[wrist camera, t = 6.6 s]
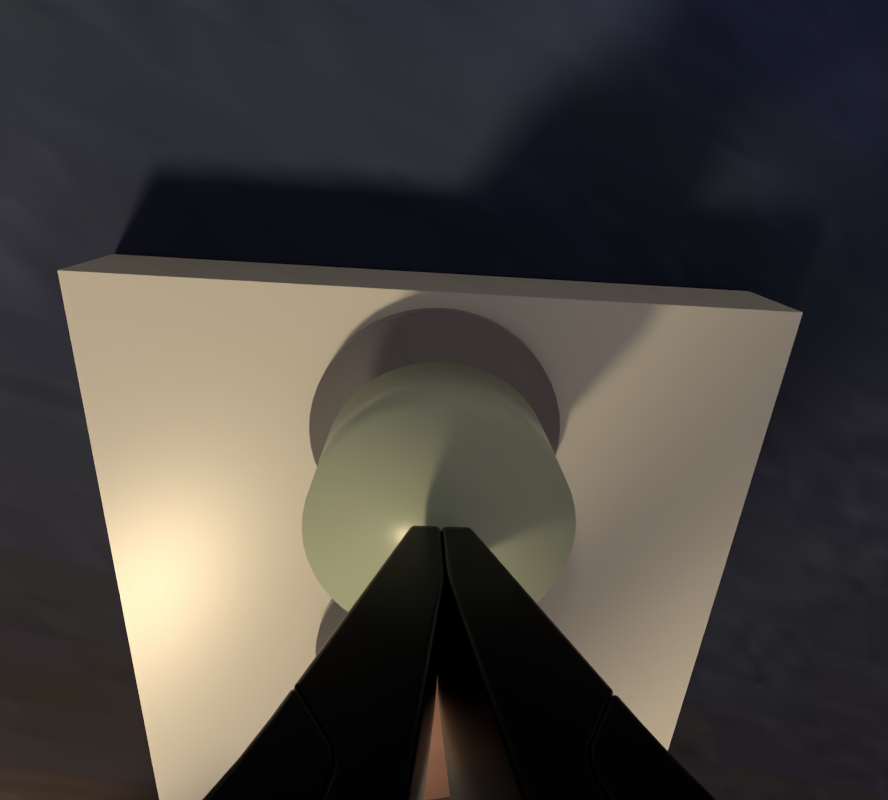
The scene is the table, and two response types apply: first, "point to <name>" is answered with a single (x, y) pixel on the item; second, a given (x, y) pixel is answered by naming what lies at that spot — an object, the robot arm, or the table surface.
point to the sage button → (436, 478)
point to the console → (309, 422)
